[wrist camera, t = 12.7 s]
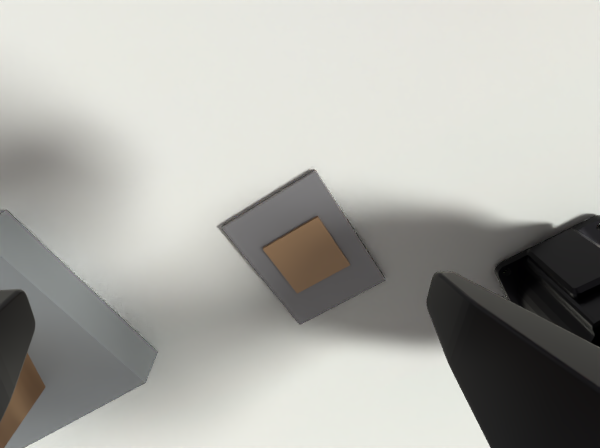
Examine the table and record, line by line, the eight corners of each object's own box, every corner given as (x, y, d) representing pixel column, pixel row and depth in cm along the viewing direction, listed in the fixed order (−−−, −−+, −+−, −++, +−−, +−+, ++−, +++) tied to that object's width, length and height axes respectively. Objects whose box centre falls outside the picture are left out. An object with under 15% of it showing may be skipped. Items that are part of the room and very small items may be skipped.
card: (384, 277, 23) (386, 282, 23) (299, 321, 25) (299, 326, 24) (315, 169, 20) (315, 172, 20) (222, 225, 22) (221, 230, 21)
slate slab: (157, 352, 25) (145, 383, 23) (27, 423, 28) (5, 457, 26) (6, 210, 21) (-28, 231, 19) (-134, 310, 23) (-179, 340, 21)
